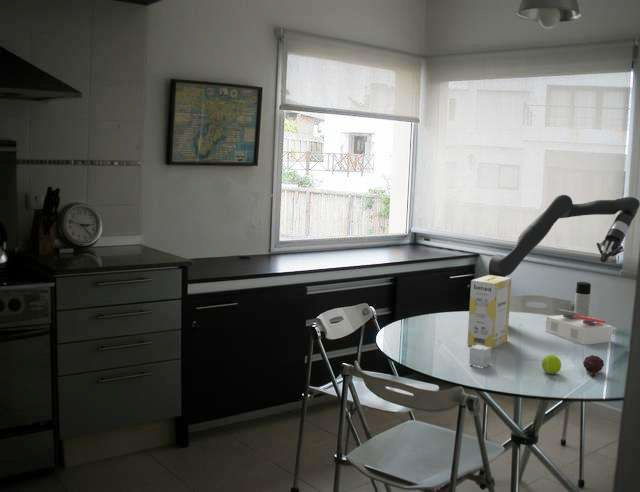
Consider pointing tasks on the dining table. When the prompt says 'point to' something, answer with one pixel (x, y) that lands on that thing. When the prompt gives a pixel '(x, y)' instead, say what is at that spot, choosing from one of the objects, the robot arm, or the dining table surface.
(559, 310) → the rocker
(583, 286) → the spray can
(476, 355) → the skincare box
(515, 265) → the robot arm
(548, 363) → the tennis ball
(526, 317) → the dining table surface
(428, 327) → the dining table surface
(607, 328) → the power strip
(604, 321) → the rocker
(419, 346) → the dining table surface
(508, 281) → the pasta box
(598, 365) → the icecream
